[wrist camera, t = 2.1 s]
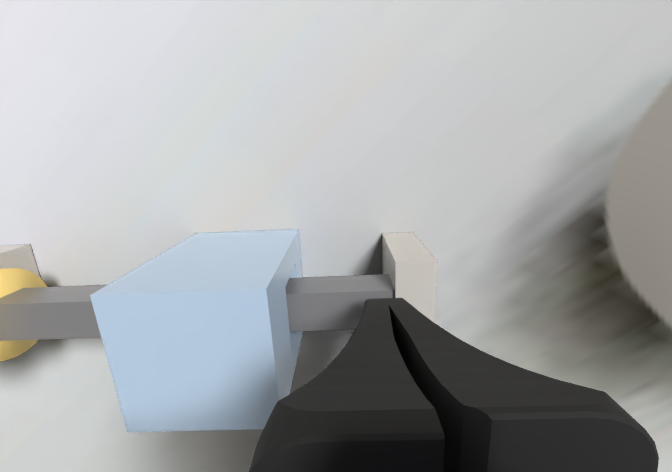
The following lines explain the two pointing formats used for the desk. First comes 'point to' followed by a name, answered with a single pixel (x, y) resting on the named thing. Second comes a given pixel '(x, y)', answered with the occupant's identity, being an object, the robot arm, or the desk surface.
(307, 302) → the grey bar rail
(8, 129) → the desk surface
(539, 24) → the desk surface
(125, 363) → the light blue sliding block
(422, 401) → the robot arm
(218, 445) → the desk surface
